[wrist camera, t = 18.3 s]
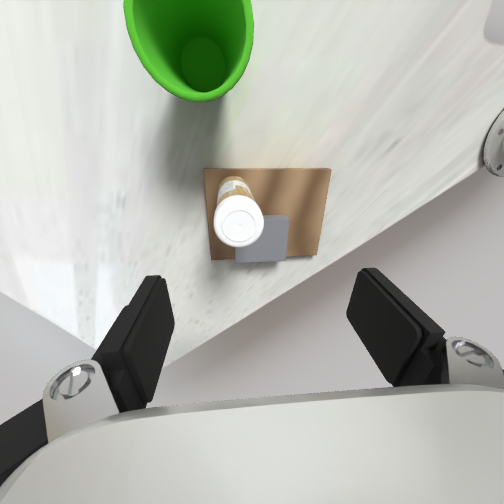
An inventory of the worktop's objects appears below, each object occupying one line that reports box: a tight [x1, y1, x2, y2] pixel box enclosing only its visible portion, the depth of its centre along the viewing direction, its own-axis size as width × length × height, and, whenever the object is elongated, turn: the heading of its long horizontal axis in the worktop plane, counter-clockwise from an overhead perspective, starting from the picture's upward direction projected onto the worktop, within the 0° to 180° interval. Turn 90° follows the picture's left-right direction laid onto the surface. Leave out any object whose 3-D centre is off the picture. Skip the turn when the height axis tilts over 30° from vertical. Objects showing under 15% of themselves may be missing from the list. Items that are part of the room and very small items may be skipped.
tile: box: [235, 215, 289, 263], centre depth 34 cm, size 2×7×8 cm
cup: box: [123, 0, 254, 102], centre depth 20 cm, size 9×9×11 cm
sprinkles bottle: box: [214, 176, 264, 247], centre depth 25 cm, size 5×5×14 cm
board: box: [204, 168, 332, 260], centre depth 34 cm, size 18×14×1 cm
